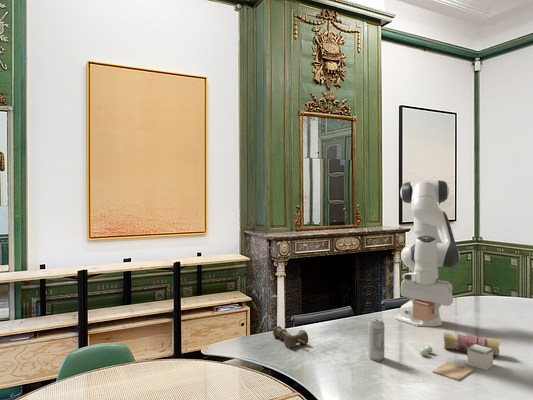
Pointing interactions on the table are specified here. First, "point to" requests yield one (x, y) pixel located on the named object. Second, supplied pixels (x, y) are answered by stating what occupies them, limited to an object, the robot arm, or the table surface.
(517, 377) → the table surface
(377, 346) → the energy drink can
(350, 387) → the table surface
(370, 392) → the table surface
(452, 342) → the scroll
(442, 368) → the cork pad
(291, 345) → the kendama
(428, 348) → the marble
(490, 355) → the off-white bevelled cube
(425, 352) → the marble
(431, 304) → the pink paneled box
